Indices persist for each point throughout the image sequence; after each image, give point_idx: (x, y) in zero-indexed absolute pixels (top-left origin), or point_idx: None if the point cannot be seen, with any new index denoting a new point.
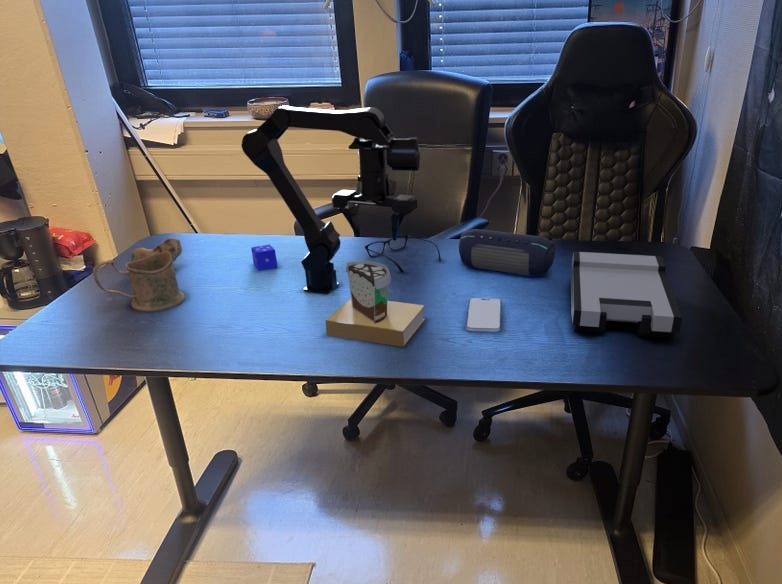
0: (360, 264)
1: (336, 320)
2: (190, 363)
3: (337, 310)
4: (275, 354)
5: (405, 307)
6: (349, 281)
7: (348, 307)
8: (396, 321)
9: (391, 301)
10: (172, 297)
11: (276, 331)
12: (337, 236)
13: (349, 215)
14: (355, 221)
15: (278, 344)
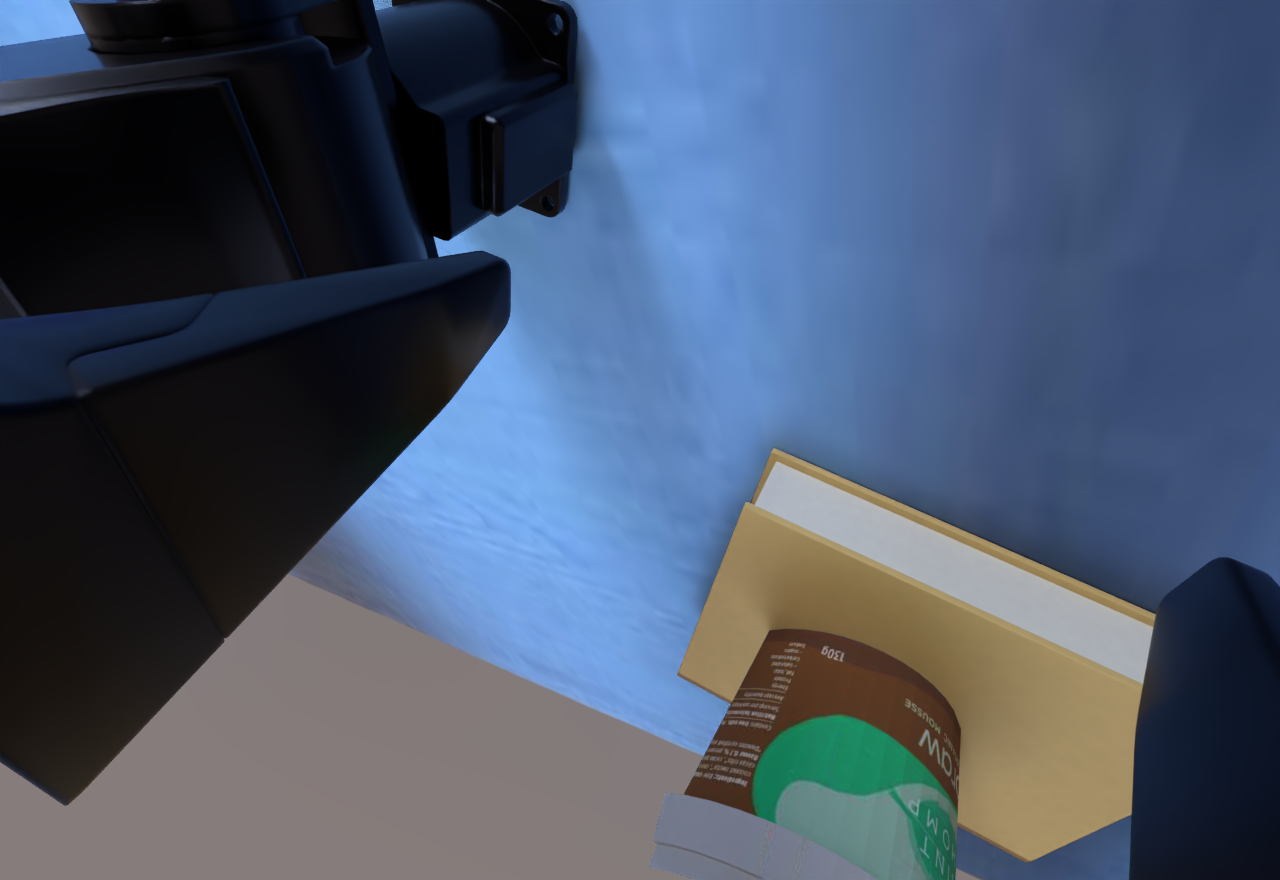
0: (740, 878)
1: (720, 691)
2: (429, 623)
3: (702, 624)
4: (589, 658)
5: (1098, 722)
6: (708, 758)
7: (747, 615)
8: (1008, 801)
9: (1008, 633)
10: None
11: (525, 542)
12: (254, 208)
13: (164, 686)
14: (290, 484)
15: (571, 615)
